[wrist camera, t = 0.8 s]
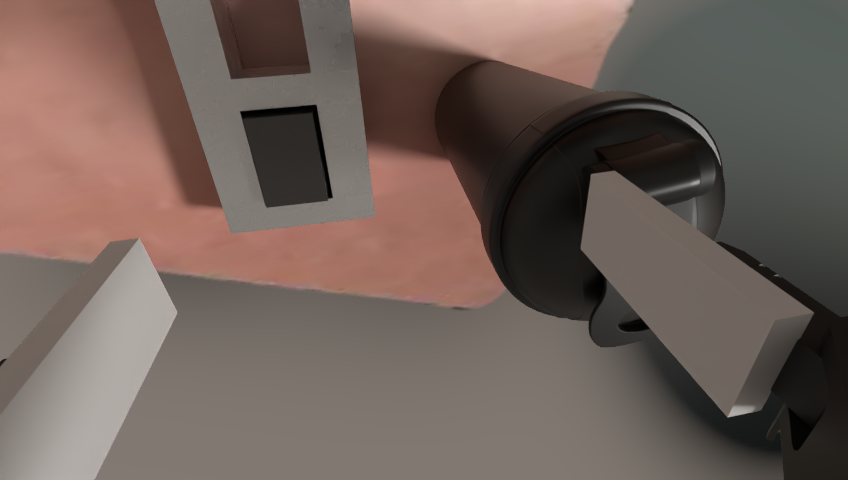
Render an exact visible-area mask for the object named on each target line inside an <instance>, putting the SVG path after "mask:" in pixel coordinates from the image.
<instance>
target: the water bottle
mask: <svg viewBox="0 0 848 480" xmlns="http://www.w3.org/2000/svg"><path fill="white" fill-rule="evenodd" d="M435 126H436V131H437V134H438V137H439V140H440V142H441V144H442V146H443V148H444V150H445V152H446V154H447V156H448V158H449V160H450V162H451V164H452V166H453V169H454V171H455V173H456V175H457V177H458V179H459V181H460V183H461V185H462V187H463V189H464V191H465V193H466V195H467V197H468V199H469V201H470V204H471V206H472V208H473V210H474V212H475V214H476V216H477V218H478V220H479V222H480V224H481V233H482V239H483V243H484V247H485V250H486V252H487V255H488V257H489V259H490V261H491V263H492V265H493V267H494V269H495V271H496V272H497V274H498V276H499V278H500V280H501V281H502V283H503V284H504V286H505V287H506V288H507V289H508V290H509V291H510V293H511V294H512V295H513V296H514V297H516V298H517V299H518V300H519V301H520V302H522V303H523V304H525V305H526V306H528V307H530V308H532V309H534V310H536V311H538V312H541V313H544V314H547V315H552V316H556V317H559V318H568V319H571V320H579V321H589V334H590V337H591V339H592V340H593V342H594V343H596V344H597V345H598V346H600V347H615V346H621V345H625V344H630V343H635V342H639V341H642V340H646V339H650V338H654V337H657V336H656V335H655V333H654V332H653V331H652V330H651V329H650V328H649V327H648V325H647V324H646V323H645V322H644V321H643V320H642V319H641V317H640V316H639V315H638V314H637V313H636V312H635V311H634V309H633V308H632V307H631V306H630V305H629V304H628V303H627V301H626V300H625V299H624V298H623V297H622V296H621V295H620V293H619V292H618V291H617V290H616V289H615V288H614V286H613V285H612V284H611V283H610V282H609V281H608V280H607V278H606V277H605V276H604V275H603V274H602V273H601V272H600V270H599V269H598V268H597V267H596V266H595V265H594V264H593V262H592V261H591V260H590V259H589V258H588V257H587V256H586V254H585V253H584V252H583V251H582V250H581V242H582V235H583V228H584V221H585V214H586V207H587V200H588V193H589V186H590V179H591V174H595V173H602V172H609V171H616V172H617V173H619V174H620V175H621V176H623V177H624V178H626V179H627V180H628V181H630V182H631V183H633V184H634V185H635V186H637V187H638V188H640V189H641V190H642V191H644V192H645V193H647V194H648V195H649V196H651V197H652V198H654V199H655V200H656V201H658V202H659V203H661V204H662V205H664V206H665V207H666V208H668V209H669V210H671V211H672V212H673V213H675V214H676V215H678V216H679V217H680V218H682V219H683V220H685V221H686V222H687V223H689V224H690V225H692V226H693V227H694V228H696V229H697V230H699V231H700V232H701V233H703V234H704V235H706V236H707V237H708V238H710V239H711V240H713V241H715V238H716V236H717V234H718V231H719V229H720V225H721V222H722V218H723V213H724V208H725V181H724V176H723V167H722V161H721V157H720V153H719V150H718V148H717V145H716V143H715V141H714V139H713V138H712V136H711V135H710V133H709V131H708V130H707V129H706V128H705V127H704V125H703V124H702V123H701V122H699V121H698V120H697V119H696V118H695V117H693V116H692V115H690V114H689V113H687V112H686V111H684V110H683V109H681V108H679V107H677V106H674V105H672V104H671V103H669V102H666V101H663V100H660V99H657V98H654V97H650V96H648V95H644V94H640V93H635V92H628V91H606V92H599V91H596V90H593V89H589V88H586V87H583V86H579V85H576V84H573V83H569V82H566V81H563V80H559V79H556V78H553V77H549V76H546V75H542V74H539V73H536V72H532V71H529V70H526V69H522V68H519V67H516V66H512V65H509V64H506V63H502V62H498V61H483V62H478V63H475V64H472V65H470V66H467V67H466V68H464V69H462V70H461V71H459V72H458V73H457V74H456V75H454V76H453V77H452V78H451V79H450V81H449V82H448V83H447V84H446V86H445V87H444V89H443V91H442V92H441V94H440V97H439V99H438V102H437V106H436V112H435Z"/></svg>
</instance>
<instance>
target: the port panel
mask: <svg viewBox="0 0 848 480" xmlns="http://www.w3.org/2000/svg"><path fill="white" fill-rule="evenodd" d="M154 1H155V4H156V8H157V11H158V14H159V17H160V20H161V23H162V26H163V29H164V32H165V35H166V38H167V41H168V44H169V47H170V50H171V53H172V56H173V59H174V62H175V65H176V68H177V71H178V74H179V77H180V80H181V83H182V86H183V89H184V92H185V95H186V98H187V101H188V105H189V108H190V111H191V114H192V117H193V120H194V123H195V126H196V129H197V132H198V135H199V138H200V141H201V144H202V147H203V150H204V153H205V156H206V159H207V162H208V165H209V168H210V171H211V174H212V177H213V180H214V183H215V186H216V189H217V192H218V195H219V198H220V201H221V205H222V208H223V211H224V214H225V217H226V220H227V223H228V226H229V229H230V232H231V234H234V233H242V232H251V231H259V230H267V229H276V228H284V227H293V226H301V225H310V224H318V223H326V222H335V221H343V220H352V219H360V218H368V217H375V210H374V202H373V194H372V185H371V177H370V169H369V160H368V152H367V144H366V135H365V127H364V119H363V110H362V102H361V94H360V85H359V77H358V69H357V60H356V52H355V44H354V35H353V27H352V19H351V10H350V2H349V0H299V6H300V12H301V18H302V23H303V29H304V35H305V40H306V46H307V52H308V58H309V63H310V64H298V65H284V66H271V67H258V68H244V69H243V65H242V61H241V57H240V54H239V50H238V46H237V42H236V38H235V34H234V30H233V26H232V22H231V18H230V14H229V10H228V6H227V2H226V0H154Z"/></svg>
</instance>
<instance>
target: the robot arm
mask: <svg viewBox="0 0 848 480" xmlns="http://www.w3.org/2000/svg"><path fill="white" fill-rule="evenodd" d="M581 250H582V251H583V252H584V253H585V254H586V256H587V257H588V258H589V259H590V260H591V261H592V262H593V264H594V265H595V266H596V267H597V268H598V269H599V270H600V272H601V273H602V274H603V275H604V276H605V277H606V278H607V280H608V281H609V282H610V283H611V284H612V285H613V286H614V288H615V289H616V290H617V291H618V292H619V293H620V295H621V296H622V297H623V298H624V299H625V300H626V301H627V303H628V304H629V305H630V306H631V307H632V308H633V309H634V311H635V312H636V313H637V314H638V315H639V316H640V317H641V319H642V320H643V321H644V322H645V323H646V324H647V325H648V327H649V328H650V329H651V330H652V331H653V332H654V333H655V335H656V336H657V337H658V338H659V339H660V340H661V341H662V343H663V344H664V345H665V346H666V347H667V348H668V349H669V350H670V352H671V353H672V354H673V355H674V356H675V357H676V359H677V360H678V361H679V362H680V363H681V364H682V365H683V367H684V368H685V369H686V370H687V371H688V372H689V373H690V375H691V376H692V377H693V378H694V379H695V380H696V382H697V383H698V384H699V385H700V386H701V387H702V388H703V389H704V391H705V392H706V393H707V394H708V395H709V396H710V398H711V399H712V400H713V401H714V402H715V403H716V404H717V406H718V407H719V408H720V409H721V410H722V411H723V412H724V413H725V415H726V416H727V417H731V416H736V415H741V414H745V413H751V412H756V411H760V410H761V409H762V407H763V405H764V404H765V402H766V400H767V398H768V396H769V394H770V393H771V391H772V392H773V393H774V394H775V395H776V396H778V397H779V398H780V399H781V400H782V401H783V402H784V405H783V407H782V409H781V410H780V412H779V414H778V415H777V417H776V419H775V420H774V422H773V424H772V426H771V427H770V429H769V431H768V434H767V437H766V439H769V440H771V441H773V440H774V438H775V436H776V435H777V433H778V432H780V433H781V445H782V458H783V472H784V480H848V316H846V317H840V316H838V315H837V314H835V313H834V312H832V311H831V310H829V309H828V308H826V307H825V306H823V305H822V304H820V303H819V302H818V301H816V300H815V299H813V298H812V297H810V296H808V295H807V294H806V293H804V292H803V291H801V290H800V289H798V288H797V287H795V286H794V285H793V284H791V283H790V282H788V281H787V280H785V279H784V278H779V277H778V274H777V273H775V272H774V271H772V270H771V269H769V268H768V267H763V264H762V263H760V262H759V261H758V260H756V259H755V258H753V257H752V256H750V255H749V254H747V253H746V252H744V251H742V250H739V249H737V248H735V247H732V246H730V245H728V244H725V243H723V242H714V241H713V240H711V239H710V238H708V237H707V236H706V235H704V234H703V233H701V232H700V231H699V230H697V229H696V228H694V227H693V226H692V225H690V224H689V223H687V222H686V221H685V220H683V219H682V218H680V217H679V216H678V215H676V214H675V213H673V212H672V211H671V210H669V209H668V208H666V207H665V206H664V205H662V204H661V203H659V202H658V201H656V200H655V199H654V198H652V197H651V196H649V195H648V194H647V193H645V192H644V191H642V190H641V189H640V188H638V187H637V186H635V185H634V184H633V183H631V182H630V181H628V180H627V179H626V178H624V177H623V176H621V175H620V174H619V173H617V172H616V171H609V172H602V173H595V174H591V179H590V186H589V193H588V200H587V207H586V214H585V221H584V228H583V235H582V242H581ZM176 315H177V311H176V309H175V307H174V305H173V303H172V301H171V299H170V297H169V295H168V293H167V291H166V289H165V287H164V285H163V283H162V281H161V279H160V277H159V275H158V273H157V271H156V269H155V268H154V266H153V264H152V262H151V260H150V258H149V256H148V254H147V252H146V250H145V248H144V246H143V244H142V242H141V240H140V238H136V239H129V240H122V241H115V242H110V243H109V244H108V245H107V246H106V248H105V249H104V250H103V251H102V252H101V253H100V254H99V256H98V257H97V258H96V259H95V260H94V261H93V262H92V263H91V265H90V266H89V267H88V268H87V269H86V270H85V271H84V273H83V274H82V275H81V276H80V277H79V278H78V279H77V281H76V282H75V283H74V284H73V285H72V286H71V287H70V288H69V290H68V291H67V292H66V293H65V294H64V295H63V296H62V298H61V299H60V300H59V301H58V302H57V303H56V304H55V305H54V307H53V308H52V309H51V310H50V311H49V312H48V313H47V315H45V317H44V318H43V319H42V320H41V321H40V322H39V323H38V324H37V326H36V327H35V328H34V329H33V330H32V331H31V333H30V334H29V335H28V336H27V337H26V338H25V339H24V340H23V341H22V343H21V344H20V345H19V346H18V347H17V348H16V349H15V350H14V352H13V353H12V354H11V355H10V356H9V357H8V358H7V359H3V360H2V361H1V362H0V480H94V479H95V477H96V475H97V473H98V471H99V469H100V467H101V465H102V463H103V461H104V459H105V457H106V455H107V453H108V451H109V449H110V447H111V445H112V443H113V441H114V439H115V437H116V435H117V433H118V431H119V429H120V427H121V425H122V423H123V421H124V419H125V417H126V415H127V413H128V411H129V409H130V407H131V405H132V403H133V401H134V399H135V397H136V395H137V393H138V391H139V389H140V386H141V385H142V383H143V381H144V379H145V377H146V375H147V373H148V371H149V369H150V367H151V365H152V363H153V360H154V359H155V357H156V355H157V353H158V351H159V349H160V347H161V345H162V343H163V341H164V339H165V337H166V335H167V333H168V331H169V329H170V327H171V325H172V323H173V321H174V319H175V317H176Z"/></svg>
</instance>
